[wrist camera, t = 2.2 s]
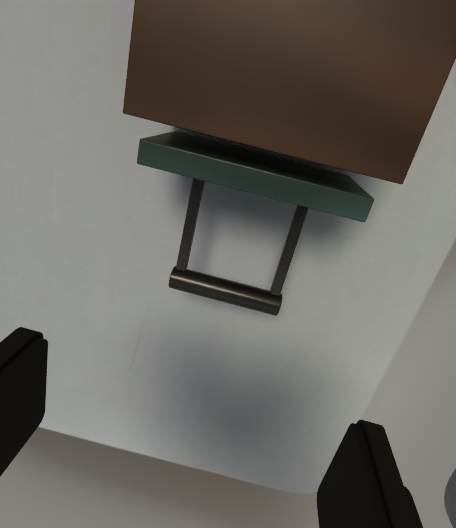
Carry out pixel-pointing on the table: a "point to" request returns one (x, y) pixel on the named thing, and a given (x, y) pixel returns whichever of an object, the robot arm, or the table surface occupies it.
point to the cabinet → (296, 75)
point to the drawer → (253, 181)
